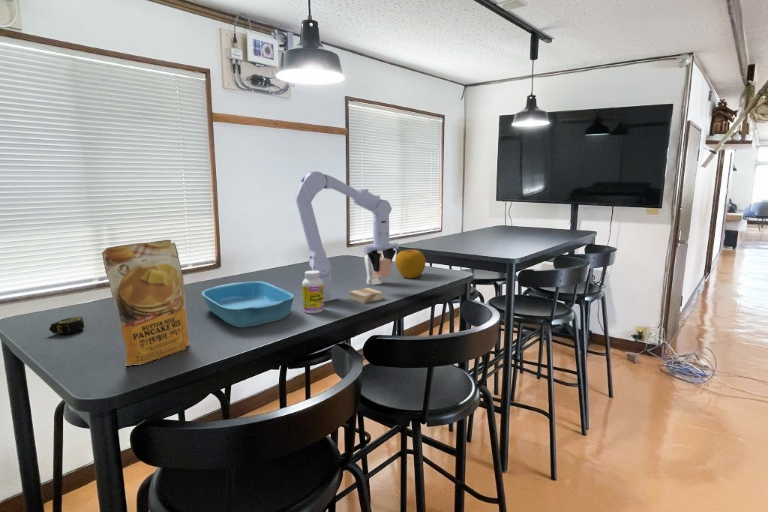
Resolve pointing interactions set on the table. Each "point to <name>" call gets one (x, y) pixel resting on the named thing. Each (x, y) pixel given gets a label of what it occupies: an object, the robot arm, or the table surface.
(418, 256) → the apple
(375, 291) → the oak base
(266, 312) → the casserole dish
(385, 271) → the clay block
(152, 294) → the pancake mix bag
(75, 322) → the tape measure
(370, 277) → the beer glass
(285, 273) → the table surface
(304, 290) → the supplement bottle
